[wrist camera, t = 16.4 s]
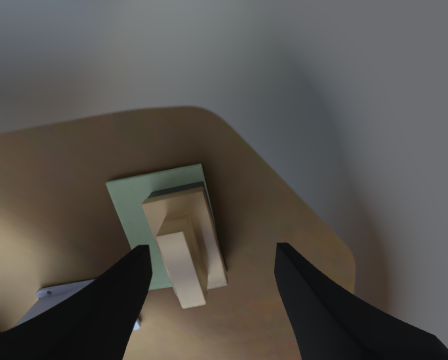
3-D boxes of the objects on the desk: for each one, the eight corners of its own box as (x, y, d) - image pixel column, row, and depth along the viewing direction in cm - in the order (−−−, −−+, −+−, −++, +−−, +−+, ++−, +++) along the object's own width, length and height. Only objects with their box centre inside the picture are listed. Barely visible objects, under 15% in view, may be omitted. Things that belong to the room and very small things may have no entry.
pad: (149, 286, 24) (147, 290, 24) (108, 180, 20) (105, 183, 20) (226, 273, 24) (226, 277, 24) (201, 163, 20) (200, 164, 19)
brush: (226, 265, 23) (229, 314, 18) (180, 275, 23) (168, 325, 18) (204, 180, 20) (199, 207, 14) (150, 191, 20) (125, 223, 15)
